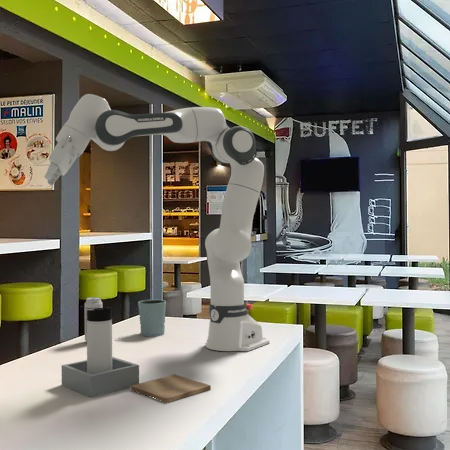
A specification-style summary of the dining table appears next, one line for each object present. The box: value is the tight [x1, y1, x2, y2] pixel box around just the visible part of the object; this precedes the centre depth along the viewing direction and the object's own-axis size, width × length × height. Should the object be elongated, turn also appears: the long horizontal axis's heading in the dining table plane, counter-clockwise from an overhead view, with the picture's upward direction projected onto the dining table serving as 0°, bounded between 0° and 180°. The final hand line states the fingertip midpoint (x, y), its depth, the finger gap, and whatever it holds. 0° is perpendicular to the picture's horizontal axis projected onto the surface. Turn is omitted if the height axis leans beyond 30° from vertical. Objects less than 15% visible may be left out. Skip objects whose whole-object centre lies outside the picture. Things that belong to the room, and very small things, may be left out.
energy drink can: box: [84, 296, 104, 343], centre depth 189 cm, size 6×6×15 cm
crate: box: [61, 356, 140, 398], centre depth 141 cm, size 14×14×5 cm
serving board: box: [130, 374, 212, 404], centre depth 136 cm, size 14×14×1 cm
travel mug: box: [86, 306, 113, 375], centre depth 141 cm, size 6×7×20 cm
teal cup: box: [137, 299, 167, 337], centre depth 202 cm, size 10×10×12 cm
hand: (48, 181), depth 163 cm, fingers open, 8 cm apart
